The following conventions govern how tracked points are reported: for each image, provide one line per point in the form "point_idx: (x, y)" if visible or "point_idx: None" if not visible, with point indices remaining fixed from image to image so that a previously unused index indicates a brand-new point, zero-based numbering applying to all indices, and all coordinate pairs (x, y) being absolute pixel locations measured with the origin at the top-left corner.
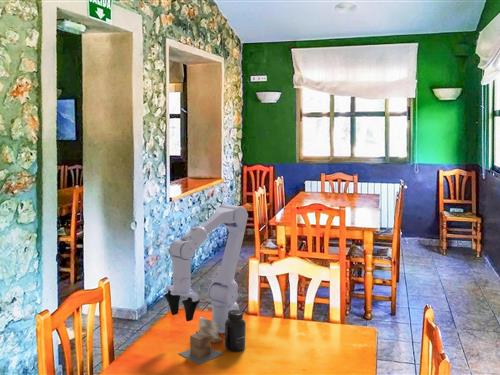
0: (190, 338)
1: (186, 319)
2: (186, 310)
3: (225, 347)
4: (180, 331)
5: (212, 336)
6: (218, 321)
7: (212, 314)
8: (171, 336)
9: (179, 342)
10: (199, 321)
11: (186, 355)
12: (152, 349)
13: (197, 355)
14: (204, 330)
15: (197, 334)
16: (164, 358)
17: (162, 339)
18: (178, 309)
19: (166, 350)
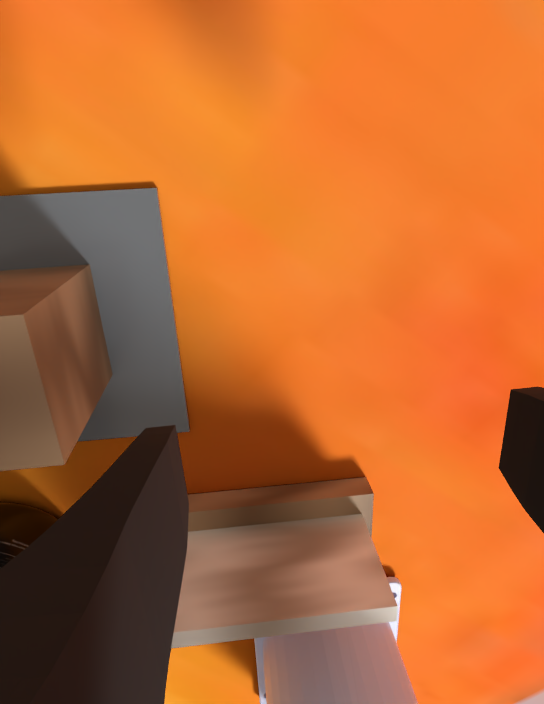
0: (32, 304)
1: (156, 434)
2: (43, 558)
3: (10, 508)
4: (490, 427)
5: (212, 530)
6: (309, 663)
7: (391, 692)
8: (476, 333)
9: (343, 321)
10: (382, 574)
11: (78, 220)
12: (397, 47)
13: None
14: (306, 535)
15: (6, 395)
16: (151, 18)
17: (490, 247)
18: (534, 521)
19: (289, 144)
